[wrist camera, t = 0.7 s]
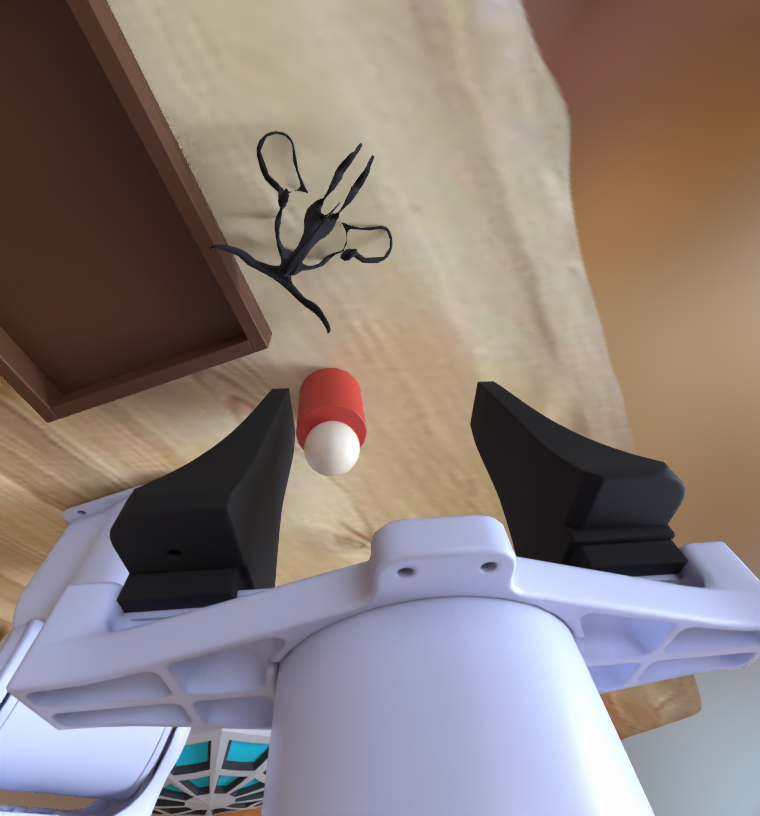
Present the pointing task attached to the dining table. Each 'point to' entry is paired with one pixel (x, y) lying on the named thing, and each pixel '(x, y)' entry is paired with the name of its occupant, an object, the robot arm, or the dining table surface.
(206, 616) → the robot arm
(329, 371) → the peg doll
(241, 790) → the decorative platform
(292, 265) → the creature
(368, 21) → the dining table surface
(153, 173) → the tray
